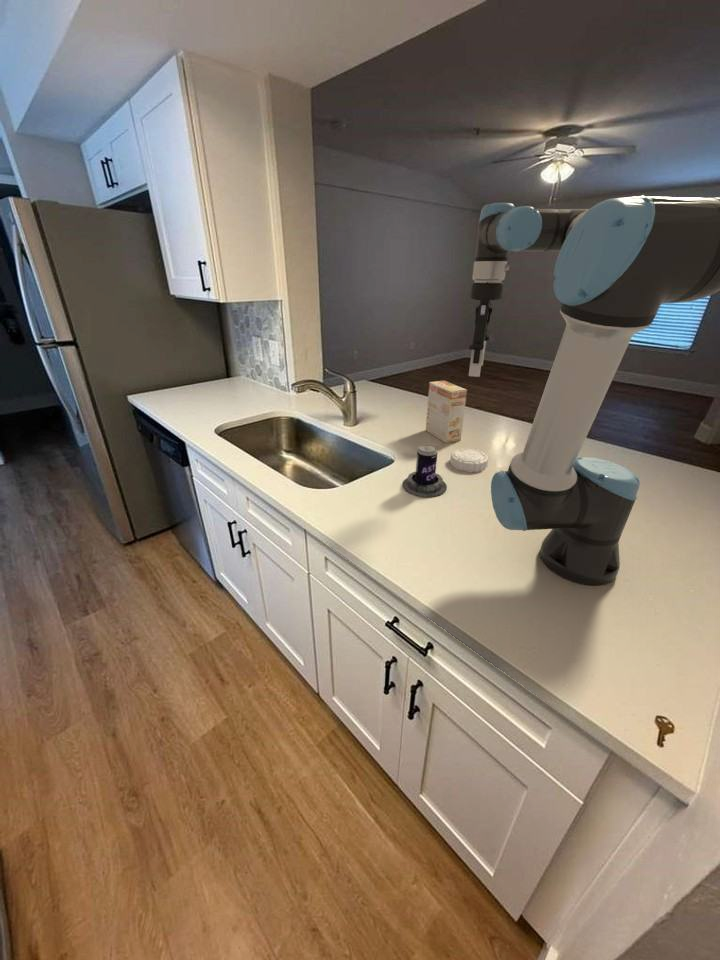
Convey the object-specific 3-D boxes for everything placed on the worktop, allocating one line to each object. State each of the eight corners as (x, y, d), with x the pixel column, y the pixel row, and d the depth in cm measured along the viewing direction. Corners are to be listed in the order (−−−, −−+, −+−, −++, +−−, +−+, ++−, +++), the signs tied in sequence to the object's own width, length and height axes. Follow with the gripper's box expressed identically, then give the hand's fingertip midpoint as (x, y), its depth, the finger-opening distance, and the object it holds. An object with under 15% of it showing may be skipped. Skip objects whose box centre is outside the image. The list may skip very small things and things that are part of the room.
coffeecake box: (461, 440, 146) (468, 389, 137) (445, 443, 144) (450, 391, 135) (440, 427, 159) (444, 379, 149) (424, 430, 156) (428, 381, 147)
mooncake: (445, 468, 126) (447, 458, 125) (455, 454, 136) (456, 444, 134) (483, 475, 122) (485, 465, 120) (490, 460, 131) (491, 451, 129)
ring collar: (443, 500, 108) (444, 492, 107) (397, 493, 112) (398, 485, 110) (449, 479, 119) (450, 472, 118) (407, 473, 122) (408, 466, 121)
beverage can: (419, 491, 112) (422, 453, 106) (411, 482, 117) (414, 445, 111) (437, 488, 113) (441, 450, 107) (429, 479, 118) (432, 443, 112)
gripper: (503, 283, 83) (488, 382, 93) (504, 280, 104) (492, 362, 114) (467, 282, 85) (456, 380, 95) (475, 280, 106) (466, 360, 116)
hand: (476, 370), depth 104 cm, fingers open, 13 cm apart
